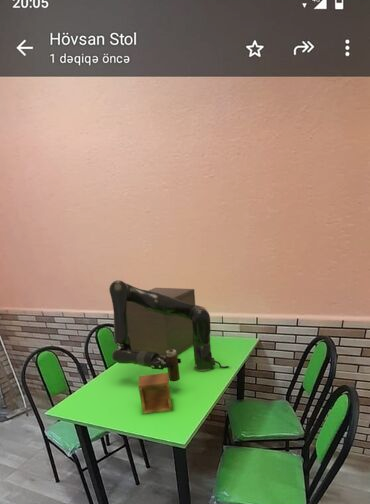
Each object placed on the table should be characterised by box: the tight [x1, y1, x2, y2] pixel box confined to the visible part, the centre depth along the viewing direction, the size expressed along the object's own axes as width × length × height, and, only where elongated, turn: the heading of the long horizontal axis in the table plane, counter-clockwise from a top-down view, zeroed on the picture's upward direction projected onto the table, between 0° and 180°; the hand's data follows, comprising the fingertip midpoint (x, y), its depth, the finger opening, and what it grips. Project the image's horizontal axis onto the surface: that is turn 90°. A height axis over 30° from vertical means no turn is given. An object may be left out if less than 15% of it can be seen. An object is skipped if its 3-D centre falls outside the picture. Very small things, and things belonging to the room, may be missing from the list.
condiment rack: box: [138, 372, 173, 414], centre depth 150 cm, size 13×10×14 cm
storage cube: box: [127, 287, 196, 357], centre depth 210 cm, size 34×29×34 cm
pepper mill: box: [166, 349, 181, 383], centre depth 158 cm, size 5×5×15 cm
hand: (177, 363), depth 156 cm, fingers closed on pepper mill, 5 cm apart
